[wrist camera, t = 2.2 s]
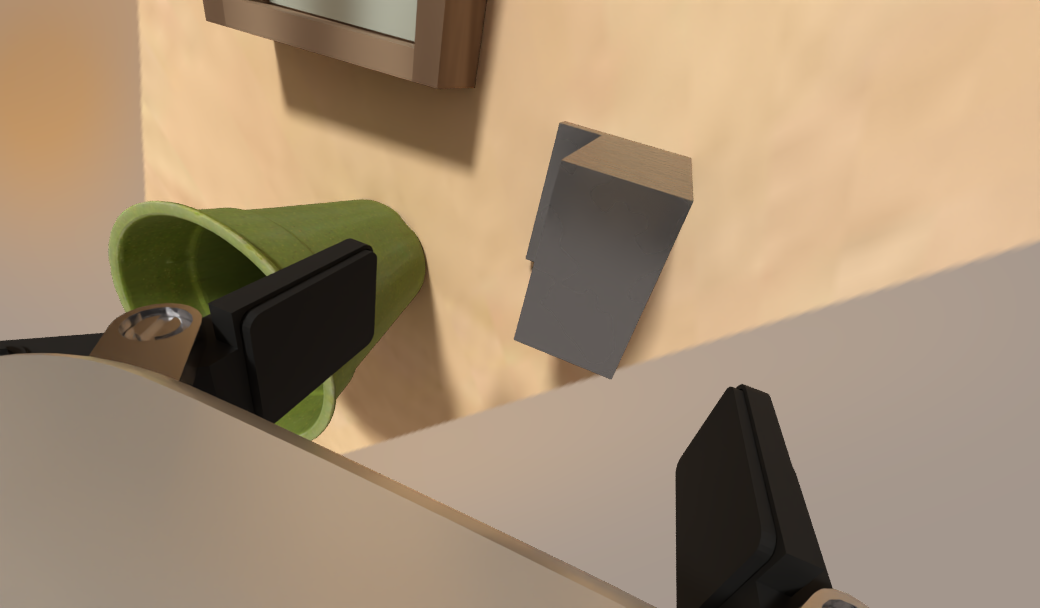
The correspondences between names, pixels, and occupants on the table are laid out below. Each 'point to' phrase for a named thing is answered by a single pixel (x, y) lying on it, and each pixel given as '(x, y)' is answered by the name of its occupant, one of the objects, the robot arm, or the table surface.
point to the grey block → (600, 244)
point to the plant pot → (260, 265)
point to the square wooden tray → (371, 33)
